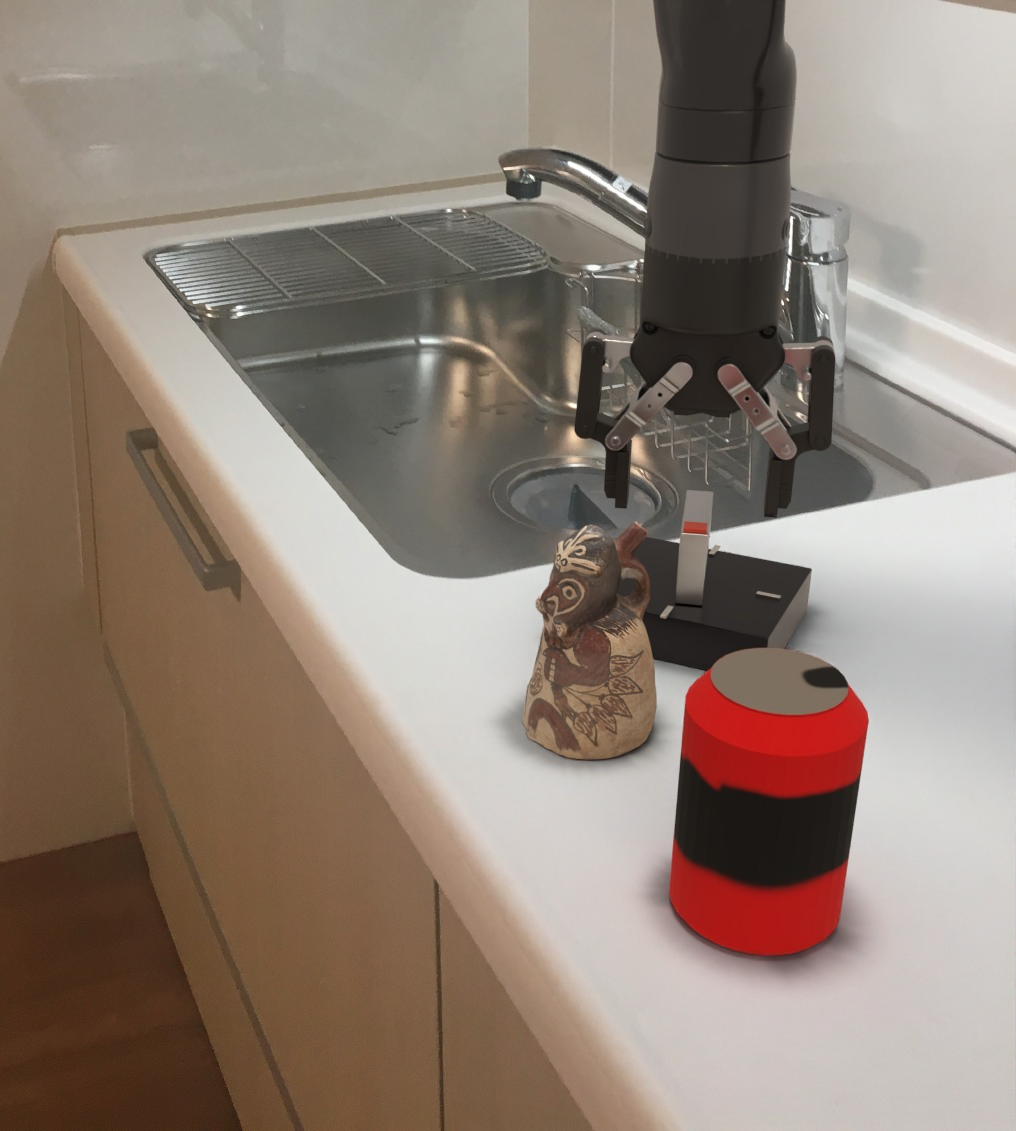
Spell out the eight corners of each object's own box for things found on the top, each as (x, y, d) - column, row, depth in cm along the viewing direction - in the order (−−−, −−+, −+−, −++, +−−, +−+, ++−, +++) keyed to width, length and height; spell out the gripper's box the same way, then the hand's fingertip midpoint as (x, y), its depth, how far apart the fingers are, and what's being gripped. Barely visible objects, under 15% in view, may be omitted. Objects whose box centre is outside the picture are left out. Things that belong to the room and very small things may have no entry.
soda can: (865, 954, 68) (902, 721, 63) (695, 966, 68) (717, 732, 62) (805, 850, 75) (833, 632, 69) (649, 861, 74) (666, 642, 69)
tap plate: (808, 608, 97) (814, 563, 95) (761, 686, 88) (766, 638, 87) (624, 571, 102) (626, 527, 101) (563, 641, 94) (566, 594, 93)
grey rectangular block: (681, 556, 97) (687, 485, 95) (707, 558, 97) (713, 487, 94) (674, 603, 91) (680, 529, 89) (702, 606, 91) (709, 531, 89)
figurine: (511, 696, 88) (516, 505, 83) (632, 687, 89) (645, 496, 84) (540, 765, 82) (548, 562, 77) (671, 754, 82) (687, 552, 77)
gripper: (848, 222, 86) (818, 491, 93) (589, 218, 90) (579, 477, 96) (857, 256, 79) (823, 542, 86) (577, 249, 83) (566, 525, 90)
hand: (694, 508), depth 91 cm, fingers open, 8 cm apart
